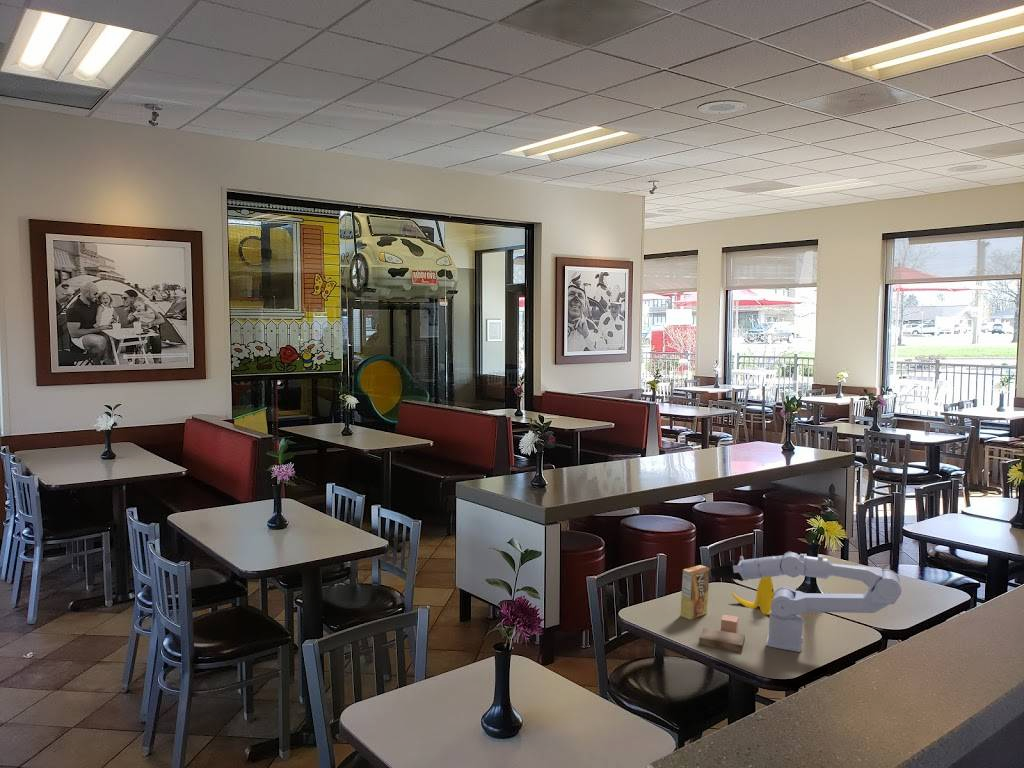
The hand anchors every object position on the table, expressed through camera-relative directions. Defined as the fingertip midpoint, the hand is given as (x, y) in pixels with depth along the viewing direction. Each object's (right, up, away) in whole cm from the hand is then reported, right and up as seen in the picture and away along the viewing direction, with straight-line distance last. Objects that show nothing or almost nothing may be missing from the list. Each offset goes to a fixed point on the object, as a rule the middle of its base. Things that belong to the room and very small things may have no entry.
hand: (714, 573), depth 232 cm
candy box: (-3, -17, +14) cm, 22 cm away
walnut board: (0, -19, -7) cm, 20 cm away
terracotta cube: (+5, -18, +1) cm, 19 cm away
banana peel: (+20, -17, +23) cm, 35 cm away
